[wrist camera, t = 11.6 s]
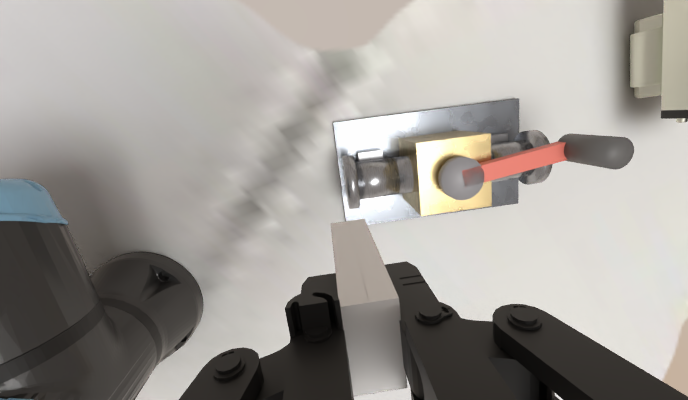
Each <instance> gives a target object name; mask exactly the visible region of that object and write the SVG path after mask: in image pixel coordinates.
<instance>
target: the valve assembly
mask: <svg viewBox="0 0 688 400" xmlns="http://www.w3.org/2000/svg"><path fill="white" fill-rule="evenodd" d="M333 126H334V134H335V142H336V150H337V157H338V165H339V173H340V180H341V188H342V196H343V203H344V211H345V219H346V221H352V220H359V219H365V222H366V224H367V225H369V224H376V223H383V222H390V221H397V220H404V219H411V218H418V217H425V216H432V215H439V214H446V213H453V212H460V211H467V210H474V209H481V208H488V207H495V206H502V205H509V204H516V203H518V180H519V181H521V182H522V183H524V184H535V183H541V182H543V181H544V180H545V179H546V178H547V177H548V176H549V174H550V172H551V168H552V164H550V165H546V166H543V167H539V168H535V169H532V170H528V171H524V172H521V173H517V174H513V175H509V176H506V177H502V178H498V179H495V180H491V181H487V182H484V183H483V186H482V188H481V190H480V191H479V192H478V193H477V194H476V195H475V196H473V197H472V198H470V199H467V200H456V199H453V198H451V197H449V196H448V195H446V194H445V193H444V192H443V191H442V190H441V188H440V186H439V183H438V175H439V171H440V169H441V167H442V166H443V164H444V163H445V162H447V161H448V160H449V159H451V158H454V157H457V156H464V157H468V158H471V159H474V160H476V161H477V162H478V163H481V162H485V161H488V160H492V159H496V158H500V157H503V156H507V155H511V154H514V153H518V152H522V151H525V150H529V149H533V148H536V147H540V146H544V145H547V144H550V143H549V141H548V139H547V137H546V136H545V135H544V134H543V133H542V132H540V131H537V130H531V131H524V132H521V133H519V99H511V100H503V101H495V102H487V103H480V104H472V105H464V106H457V107H449V108H441V109H434V110H426V111H418V112H411V113H403V114H395V115H388V116H380V117H372V118H364V119H357V120H349V121H341V122H334V123H333Z"/></svg>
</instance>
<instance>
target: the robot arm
mask: <svg viewBox="0 0 688 400" xmlns="http://www.w3.org/2000/svg"><path fill="white" fill-rule="evenodd" d="M67 225H68V222H67V220H65V219H64V218H62V216H61V215H60V213H59V211H58V209H57V207H56V205H55V203H54V202H53V200H52V198H51V196H50V194H49V192H48V191H47V190H46V189H45V188H44V187H43V186H42V185H40V184H38V183H36V182H34V181H31V180H26V179H0V400H135V398H136V397H137V395H138V394H139V392H140V390H141V389H142V387H143V386H144V384H145V383H146V381H147V379H148V378H149V376H150V375H151V373H152V371H153V370H154V368H155V367H156V365H158V364H159V363H160V362H162V361H163V360H164V359H166V358H167V357H168V356H170V355H171V354H172V353H174V352H175V351H177V350H178V349H179V348H180V347H182V346H183V345H184V344H185V343H186V342H187V341H188V340H189V338H190V337H191V336H192V334H193V332H194V331H195V329H196V327H197V326H198V324H199V322H200V319H201V316H202V312H203V299H202V294H201V291H200V289H199V286H198V284H197V283H196V281H195V279H194V278H193V277H192V275H191V274H190V273H189V272H188V271H187V270H186V269H185V268H183V267H182V266H181V265H180V264H178V263H176V262H175V261H173V260H171V259H169V258H167V257H164V256H161V255H158V254H153V253H145V252H136V253H129V254H124V255H121V256H118V257H116V258H114V259H112V260H110V261H109V262H107V263H106V264H104V265H103V266H101V267H100V268H99V269H97V270H96V271H95V272H94V273H93V274H92V275H91V276H89V274H88V271H87V269H86V267H85V265H84V263H83V260H82V258H81V256H80V254H79V251H78V249H77V247H76V245H75V243H74V240H73V238H72V236H71V234H70V231H69V229H68V227H67ZM331 232H332V242H333V251H334V261H335V271H336V273H333V274H327V275H320V276H313V277H308V278H307V280H306V281H305V282H304V283H303V285H302V290H301V294H299V295H297V296H295V297H294V298H292V299H291V300H290V301H289V302H288V303H287V305H286V307H285V311H286V317H287V322H288V327H289V332H290V337H291V338H290V343H289V344H288V345H287V346H285V347H284V348H283V349H281V350H279V351H277V352H275V353H273V354H270V355H268V356H265V357H263V358H260V359H259V356H258V353H256V352H255V351H254V350H252V349H248V348H236V349H231V350H228V351H226V352H223V353H221V354H219V355H218V356H216V357H214V358H213V359H211V360H210V361H209V362H208V363H207V364H206V365H205V366H204V367H203V369H202V370H201V371H200V372H199V374H198V375H197V376H196V378H195V379H194V380H193V382H192V383H191V384H190V386H189V387H188V388H187V390H186V391H185V392H184V394H183V395H182V396H181V398H180V399H179V400H354V398H353V396H359V395H365V394H372V393H378V392H384V391H390V390H396V389H402V388H407V379H406V375H407V378H408V381H409V384H410V387H411V398H412V400H559V399H558V398H557V397H556V396H555V393H556V394H557V395H558V396H560V397H561V398H562V399H563V400H688V397H687V396H686V395H684V394H682V393H680V392H679V391H677V390H676V389H674V388H672V387H671V386H669V385H667V384H665V383H664V382H662V381H660V380H659V379H657V378H655V377H654V376H652V375H650V374H649V373H647V372H645V371H644V370H642V369H640V368H639V367H637V366H635V365H634V364H632V363H630V362H629V361H627V360H625V359H624V358H622V357H620V356H619V355H617V354H615V353H614V352H612V351H610V350H609V349H607V348H605V347H604V346H602V345H600V344H599V343H597V342H595V341H594V340H592V339H590V338H588V337H587V336H585V335H583V334H582V333H580V332H578V331H577V330H575V329H573V328H572V327H570V326H568V325H567V324H565V323H563V322H562V321H560V320H558V319H557V318H555V317H553V316H552V315H550V314H548V313H547V312H545V311H542V310H540V309H538V308H536V307H532V306H527V305H523V304H510V305H505V306H501V307H500V308H498V309H496V310H495V312H494V314H493V322H489V321H474V320H466V319H462V318H460V316H459V315H458V314H457V312H456V311H455V310H454V309H453V308H452V307H450V306H448V305H446V304H444V303H441V302H439V301H438V300H437V298H436V297H435V295H434V294H433V292H432V290H431V289H430V287H429V286H428V284H427V283H426V282H425V280H424V278H423V277H422V276H421V273H420V272H419V270H418V269H417V267H415V266H414V265H412V264H410V263H408V262H400V263H394V264H387V265H384V263H383V260H382V258H381V256H380V254H379V251H378V249H377V247H376V244H375V242H374V240H373V238H372V235H371V233H370V231H369V228H368V226H367V224H366V222H365V219H359V220H352V221H345V222H338V223H331Z"/></svg>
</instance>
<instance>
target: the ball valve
mask: <svg viewBox="0 0 688 400" xmlns="http://www.w3.org/2000/svg"><path fill="white" fill-rule="evenodd" d="M630 87H634V96H635V97H636V98H646V97H654V96H660V95H662V97H661V118H677V120H676V122H677V123H682V122H687V121H688V0H664V9H663V13H661V14H658V15H654V16H650V17H647V18H643V19H640V20H637V21H636V22H635V29H634V34H632V35H630Z"/></svg>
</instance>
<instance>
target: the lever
mask: <svg viewBox="0 0 688 400" xmlns="http://www.w3.org/2000/svg"><path fill="white" fill-rule="evenodd" d="M633 153H634V146H633V144H632V142H631V141H630V140H629V139H628V138H625V137H612V136H596V135H581V134H567V135H564V136H563V137H561V138H560V139H559V141H558V142H555V143H551V144H547V145H544V146H540V147H536V148H533V149H529V150H525V151H522V152H518V153H514V154H511V155H507V156H503V157H500V158H496V159H492V160H488V161H485V162H481V163H478V162H477V161H476V160H474V159H471V158H468V157H464V156H457V157H454V158H451V159H449V160H448V161H447V162H445V163H444V164H443V166H442V167H441V169H440V171H439V175H438V183H439V186H440V188H441V190H442V191H443V192H444V193H445V194H446V195H448V196H449V197H451V198H453V199H456V200H467V199H470V198H472V197H473V196H475V195H476V194H477V193H478V192H479V191H480V190H481V188H482V186H483V183H484V182H487V181H491V180H495V179H498V178H502V177H506V176H509V175H513V174H517V173H521V172H524V171H528V170H532V169H535V168H539V167H543V166H546V165H550V164H554V163H557V162H561V161H570V162H576V163H581V164H587V165H593V166H598V167H604V168H610V169H620V168H622V167H624V166H626V165H627V164H628V163H629V162H630V160H631V159H632V156H633Z"/></svg>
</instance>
